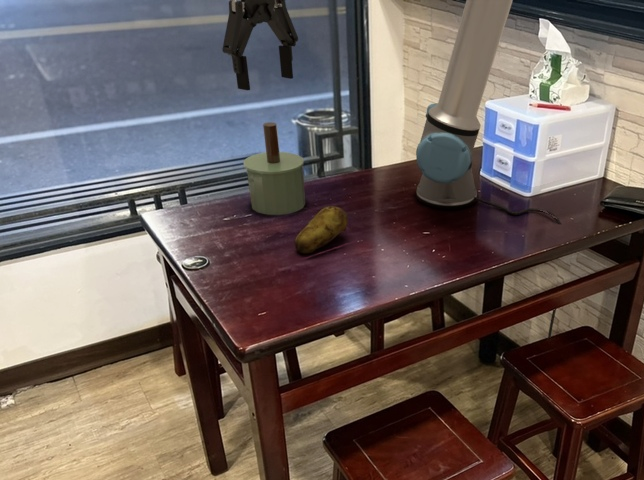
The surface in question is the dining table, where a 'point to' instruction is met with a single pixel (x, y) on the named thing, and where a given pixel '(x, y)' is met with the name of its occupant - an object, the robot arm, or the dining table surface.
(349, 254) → the dining table surface
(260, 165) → the lid
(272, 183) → the pot
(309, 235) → the potato
